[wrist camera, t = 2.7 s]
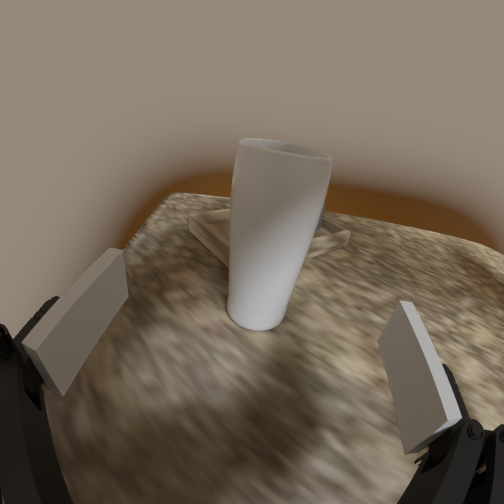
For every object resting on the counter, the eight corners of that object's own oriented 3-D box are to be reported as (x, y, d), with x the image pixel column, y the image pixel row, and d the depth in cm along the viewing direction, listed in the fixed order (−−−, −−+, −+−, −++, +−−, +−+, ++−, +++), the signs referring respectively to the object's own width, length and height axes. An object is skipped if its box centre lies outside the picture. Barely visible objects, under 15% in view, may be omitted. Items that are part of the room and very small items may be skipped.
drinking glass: (305, 324, 25) (353, 161, 18) (245, 351, 21) (281, 155, 14) (262, 284, 30) (289, 140, 22) (205, 302, 26) (219, 136, 19)
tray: (290, 213, 50) (293, 200, 49) (347, 245, 41) (351, 232, 40) (188, 230, 38) (189, 214, 37) (241, 279, 30) (244, 260, 29)
